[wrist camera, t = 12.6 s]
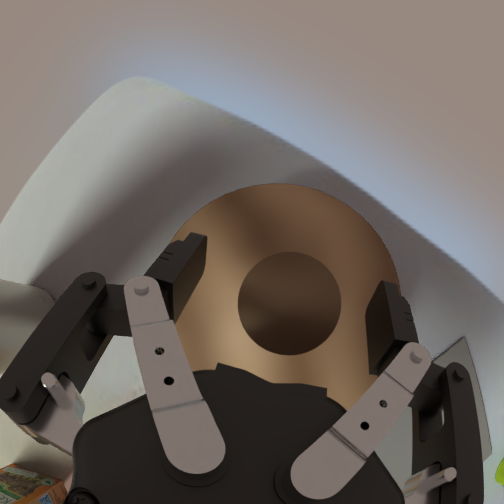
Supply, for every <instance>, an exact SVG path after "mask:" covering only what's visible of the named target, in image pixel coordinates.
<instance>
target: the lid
mask: <svg viewBox="0 0 504 504" xmlns="http://www.w3.org/2000/svg"><path fill="white" fill-rule="evenodd" d="M190 232H194V233H198V234H202V235H206V236H207V238H208V240H207V253H206V265H205V270H204V273H203V275H202V277H201V279H200V281H199V283H198V284H197V286H196V288H195V290H194V291H193V293H192V295H191V297H190V299H189V300H188V302H187V304H186V306H185V307H184V309H183V311H182V313H181V315H180V316H179V318H178V320H177V322H176V324H175V327H176V330H177V333H178V336H179V338H180V341H181V344H182V347H183V349H184V352H185V355H186V358H187V360H188V363H189V365H190V368H191V371H192V372H193V371H198V370H209V369H211V370H215V368H216V366H217V363H218V362H219V363H222V364H226V365H229V366H233V367H236V368H240V369H244V370H246V371H248V372H250V373H252V374H254V375H256V376H258V377H260V378H262V379H264V380H266V381H269V382H271V383H303V384H308V385H313V386H318V387H324V388H327V397H329V398H331V399H333V400H335V401H336V402H338V403H339V404H340V405H342V406H343V407H344V408H345V409H346V410H348V409H350V408H351V407H352V406H353V405H354V404H355V403H356V402H357V401H358V400H359V399H360V398H361V396H362V395H363V394H364V393H365V392H366V391H367V390H368V389H369V388H370V387H371V385H372V384H373V383H374V382H375V381H376V380H377V379H378V376H377V375H370V374H369V364H368V348H367V335H366V324H365V312H366V308H367V306H368V304H369V302H370V300H371V298H372V296H373V294H374V292H375V290H376V288H377V286H378V284H379V282H380V281H382V280H383V281H387V282H391V283H395V284H397V286H398V289H399V293H400V296H401V292H400V285H399V280H398V276H397V273H396V269H395V266H394V263H393V261H392V259H391V256H390V254H389V252H388V250H387V248H386V247H385V245H384V243H383V241H382V240H381V238H380V237H379V235H378V234H377V233H376V232H375V230H374V229H373V228H372V226H371V225H370V224H369V223H368V222H367V221H366V220H365V219H364V218H363V217H362V216H361V215H360V214H359V213H357V212H356V211H355V210H353V209H352V208H351V207H349V206H348V205H347V204H345V203H343V202H342V201H340V200H338V199H336V198H335V197H333V196H331V195H328V194H326V193H323V192H321V191H319V190H315V189H312V188H308V187H304V186H299V185H292V184H262V185H254V186H250V187H246V188H242V189H238V190H236V191H233V192H231V193H228V194H225V195H223V196H221V197H219V198H218V199H216V200H214V201H212V202H210V203H209V204H207V205H206V206H204V207H203V208H202V209H200V210H199V211H197V212H196V213H195V214H194V215H193V216H192V217H191V218H190V219H189V220H188V221H187V222H185V224H184V225H183V226H182V227H181V228H180V230H179V231H178V232H177V233H176V234H175V236H174V237H173V239H172V240H171V242H170V243H169V244H171V243H172V242H174V241H176V240H181V241H184V240H185V238H186V237H187V236H188V235H189V233H190Z"/></svg>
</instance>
